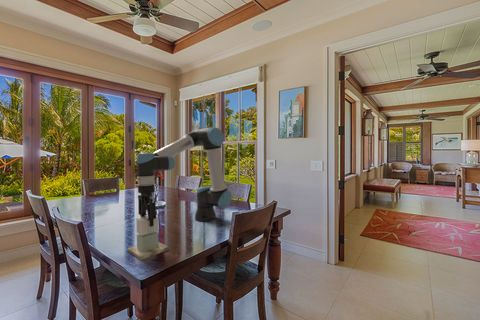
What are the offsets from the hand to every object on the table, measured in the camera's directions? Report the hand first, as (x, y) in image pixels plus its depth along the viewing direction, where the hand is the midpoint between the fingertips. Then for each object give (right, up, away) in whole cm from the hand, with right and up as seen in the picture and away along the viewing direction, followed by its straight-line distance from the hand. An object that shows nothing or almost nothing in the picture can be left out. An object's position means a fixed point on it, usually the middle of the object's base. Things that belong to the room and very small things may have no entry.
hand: (147, 230), depth 114 cm
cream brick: (0, 0, 0) cm, 0 cm away
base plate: (0, -10, +1) cm, 10 cm away
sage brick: (0, -8, 0) cm, 8 cm away
